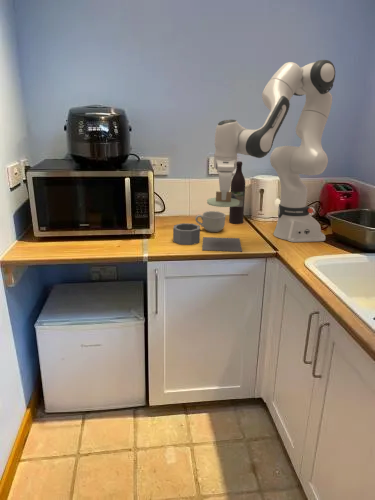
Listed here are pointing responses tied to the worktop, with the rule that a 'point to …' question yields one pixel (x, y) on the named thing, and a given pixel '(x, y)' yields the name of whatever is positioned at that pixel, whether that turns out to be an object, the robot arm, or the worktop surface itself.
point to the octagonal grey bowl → (186, 234)
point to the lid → (223, 203)
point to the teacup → (212, 221)
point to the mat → (221, 244)
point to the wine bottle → (237, 195)
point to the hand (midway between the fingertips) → (223, 198)
